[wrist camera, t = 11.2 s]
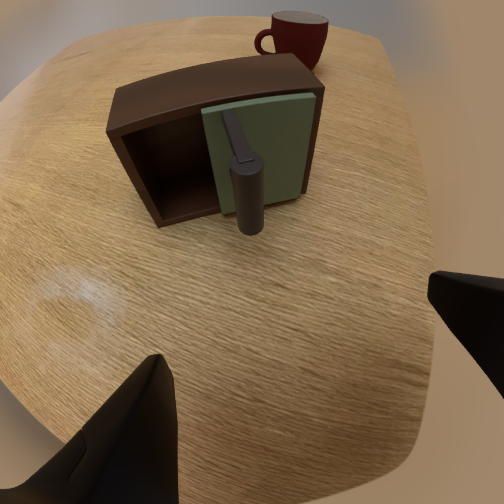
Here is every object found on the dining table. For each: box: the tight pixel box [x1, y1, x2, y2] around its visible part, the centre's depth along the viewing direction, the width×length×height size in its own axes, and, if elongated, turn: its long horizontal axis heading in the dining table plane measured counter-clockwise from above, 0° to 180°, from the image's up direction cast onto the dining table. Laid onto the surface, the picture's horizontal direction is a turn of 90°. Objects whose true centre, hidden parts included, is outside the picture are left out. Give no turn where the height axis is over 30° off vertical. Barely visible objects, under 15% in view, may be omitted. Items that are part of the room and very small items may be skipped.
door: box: [201, 93, 316, 236], centre depth 18 cm, size 6×7×11 cm
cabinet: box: [106, 53, 325, 228], centre depth 21 cm, size 6×14×12 cm, turn 105°
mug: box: [254, 11, 328, 71], centre depth 32 cm, size 11×8×10 cm
